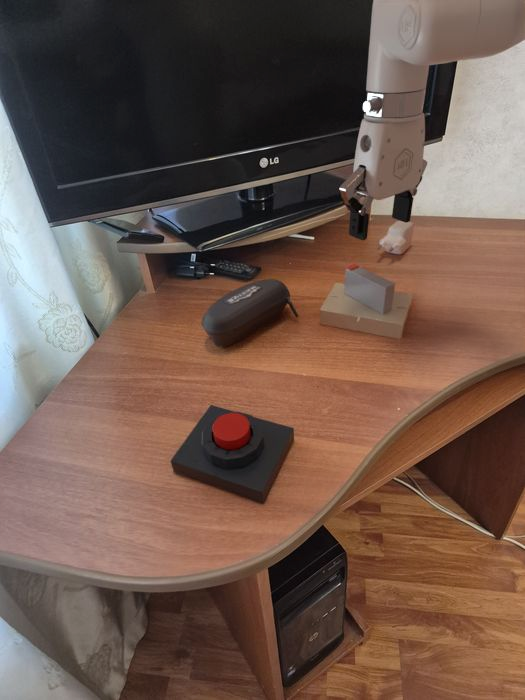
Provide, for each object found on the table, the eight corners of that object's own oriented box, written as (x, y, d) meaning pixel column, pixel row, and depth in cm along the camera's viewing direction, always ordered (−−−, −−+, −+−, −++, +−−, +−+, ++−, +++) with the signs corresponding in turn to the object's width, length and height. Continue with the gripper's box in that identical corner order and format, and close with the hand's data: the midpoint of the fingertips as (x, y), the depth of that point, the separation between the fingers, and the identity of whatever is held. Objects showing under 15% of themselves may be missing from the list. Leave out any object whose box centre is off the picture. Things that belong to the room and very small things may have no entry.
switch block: (294, 439, 56) (293, 418, 54) (263, 503, 49) (261, 482, 47) (212, 415, 61) (208, 394, 58) (173, 472, 54) (167, 450, 51)
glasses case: (261, 291, 85) (269, 261, 79) (299, 326, 81) (311, 297, 75) (186, 332, 75) (190, 301, 69) (226, 373, 72) (233, 344, 66)
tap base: (412, 303, 80) (414, 288, 78) (399, 345, 71) (401, 329, 69) (337, 292, 85) (338, 277, 83) (316, 329, 76) (316, 313, 74)
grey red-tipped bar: (391, 309, 73) (395, 282, 70) (382, 314, 72) (386, 286, 69) (352, 289, 79) (354, 263, 76) (343, 293, 78) (345, 267, 75)
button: (256, 428, 54) (255, 418, 52) (240, 455, 50) (239, 445, 49) (224, 418, 55) (223, 409, 54) (207, 444, 52) (205, 434, 51)
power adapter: (392, 267, 92) (396, 240, 88) (371, 261, 94) (373, 235, 90) (413, 247, 98) (417, 221, 95) (393, 242, 101) (396, 217, 97)
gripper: (369, 119, 52) (357, 253, 62) (458, 97, 59) (435, 220, 70) (325, 112, 57) (322, 237, 67) (413, 93, 64) (397, 208, 75)
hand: (379, 228), depth 69 cm, fingers open, 9 cm apart
